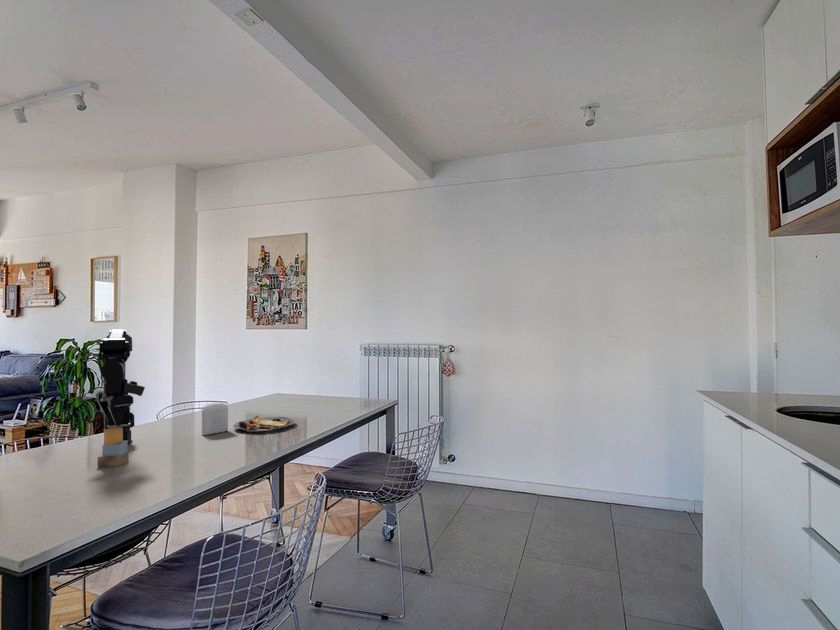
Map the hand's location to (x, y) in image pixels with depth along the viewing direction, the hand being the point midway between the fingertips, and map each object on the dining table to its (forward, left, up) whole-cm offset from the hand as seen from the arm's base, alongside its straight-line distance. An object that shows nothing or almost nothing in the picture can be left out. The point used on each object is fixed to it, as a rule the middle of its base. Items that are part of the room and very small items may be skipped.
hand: (114, 423), depth 144 cm
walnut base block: (+1, -2, -13) cm, 13 cm away
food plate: (+36, +45, -13) cm, 59 cm away
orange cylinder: (+1, -2, -6) cm, 6 cm away
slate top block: (+1, -1, -10) cm, 10 cm away
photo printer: (+18, +37, -13) cm, 43 cm away
